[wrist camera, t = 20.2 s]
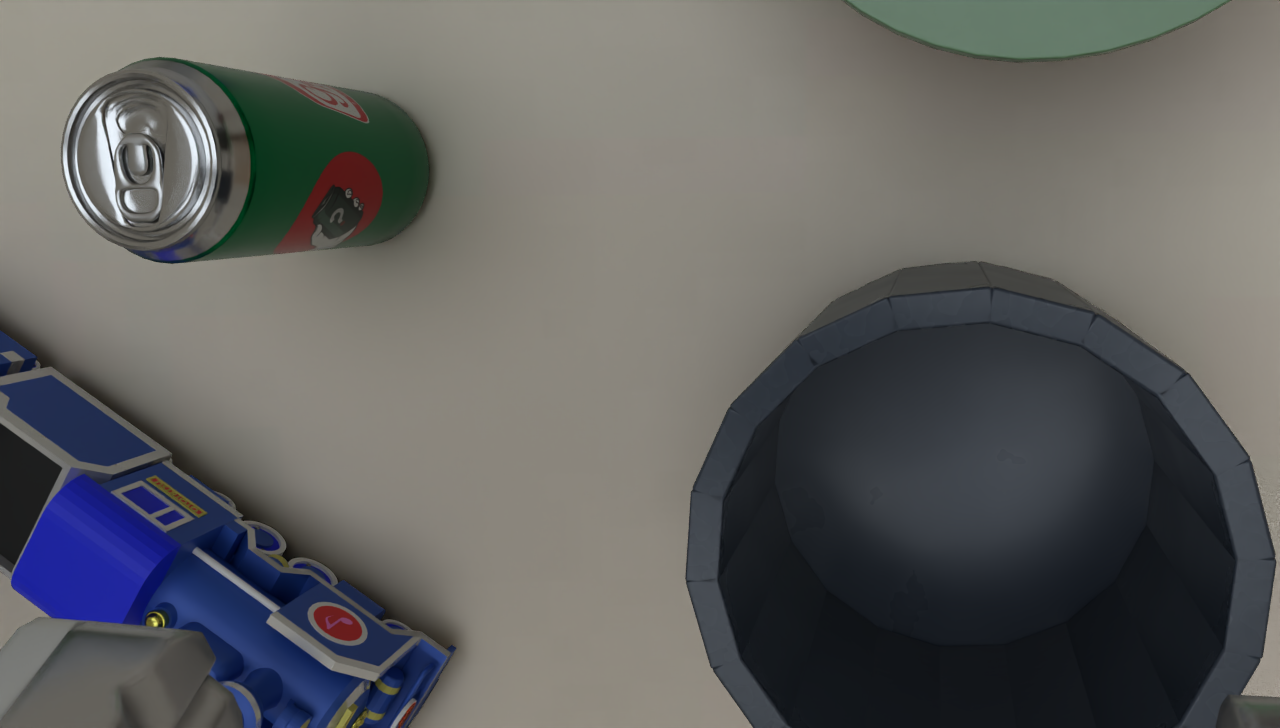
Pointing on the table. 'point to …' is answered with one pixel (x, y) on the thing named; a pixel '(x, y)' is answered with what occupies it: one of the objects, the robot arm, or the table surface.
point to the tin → (977, 520)
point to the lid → (1033, 25)
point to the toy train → (188, 565)
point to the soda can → (238, 163)
